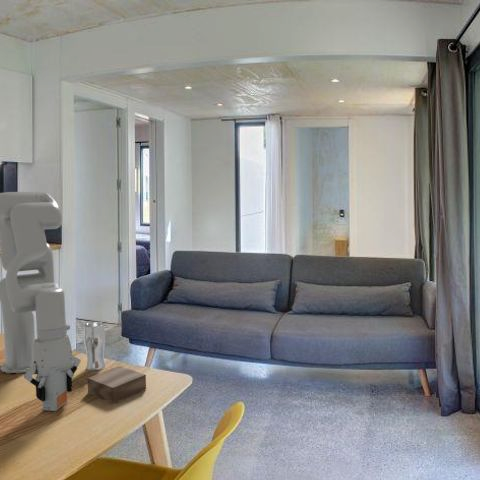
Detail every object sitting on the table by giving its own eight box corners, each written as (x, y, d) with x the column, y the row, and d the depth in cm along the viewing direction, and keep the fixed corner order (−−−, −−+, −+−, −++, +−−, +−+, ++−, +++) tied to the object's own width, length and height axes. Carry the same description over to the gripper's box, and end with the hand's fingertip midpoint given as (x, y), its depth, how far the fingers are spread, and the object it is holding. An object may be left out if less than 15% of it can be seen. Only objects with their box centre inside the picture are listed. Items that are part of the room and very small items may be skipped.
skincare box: (56, 411, 132) (54, 369, 130) (42, 410, 132) (39, 368, 131) (68, 402, 137) (66, 361, 136) (54, 400, 138) (52, 360, 137)
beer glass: (94, 372, 159) (93, 328, 158) (80, 368, 163) (78, 325, 161) (110, 366, 165) (109, 323, 164) (96, 362, 169) (95, 320, 167)
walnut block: (88, 394, 144) (87, 378, 143) (120, 381, 153) (119, 366, 152) (113, 404, 136) (113, 387, 136) (146, 390, 146) (145, 374, 145)
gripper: (73, 323, 142) (75, 382, 144) (13, 338, 129) (17, 402, 130) (87, 328, 137) (90, 388, 139) (27, 343, 124) (30, 410, 126)
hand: (54, 394), depth 135 cm, fingers closed on skincare box, 7 cm apart
